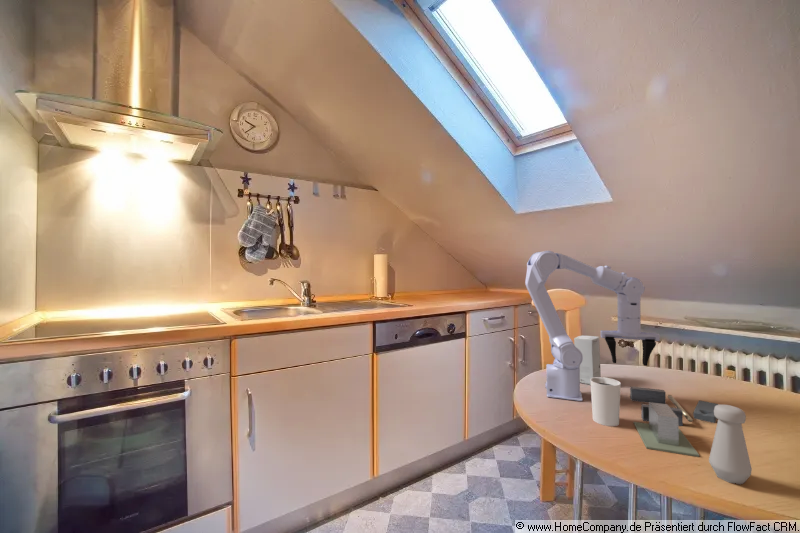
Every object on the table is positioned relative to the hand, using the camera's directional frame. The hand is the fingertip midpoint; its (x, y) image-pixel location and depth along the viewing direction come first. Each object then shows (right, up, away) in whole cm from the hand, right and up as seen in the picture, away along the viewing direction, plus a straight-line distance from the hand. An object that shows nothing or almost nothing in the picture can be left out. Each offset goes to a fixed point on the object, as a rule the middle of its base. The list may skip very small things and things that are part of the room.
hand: (629, 363), depth 104 cm
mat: (-8, -10, -25) cm, 28 cm away
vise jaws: (0, -10, -10) cm, 14 cm away
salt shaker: (-7, -10, -39) cm, 41 cm away
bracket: (+12, -11, -12) cm, 20 cm away
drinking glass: (-16, -10, -15) cm, 24 cm away
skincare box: (-4, -10, +15) cm, 19 cm away
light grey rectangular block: (-8, -10, -24) cm, 27 cm away
